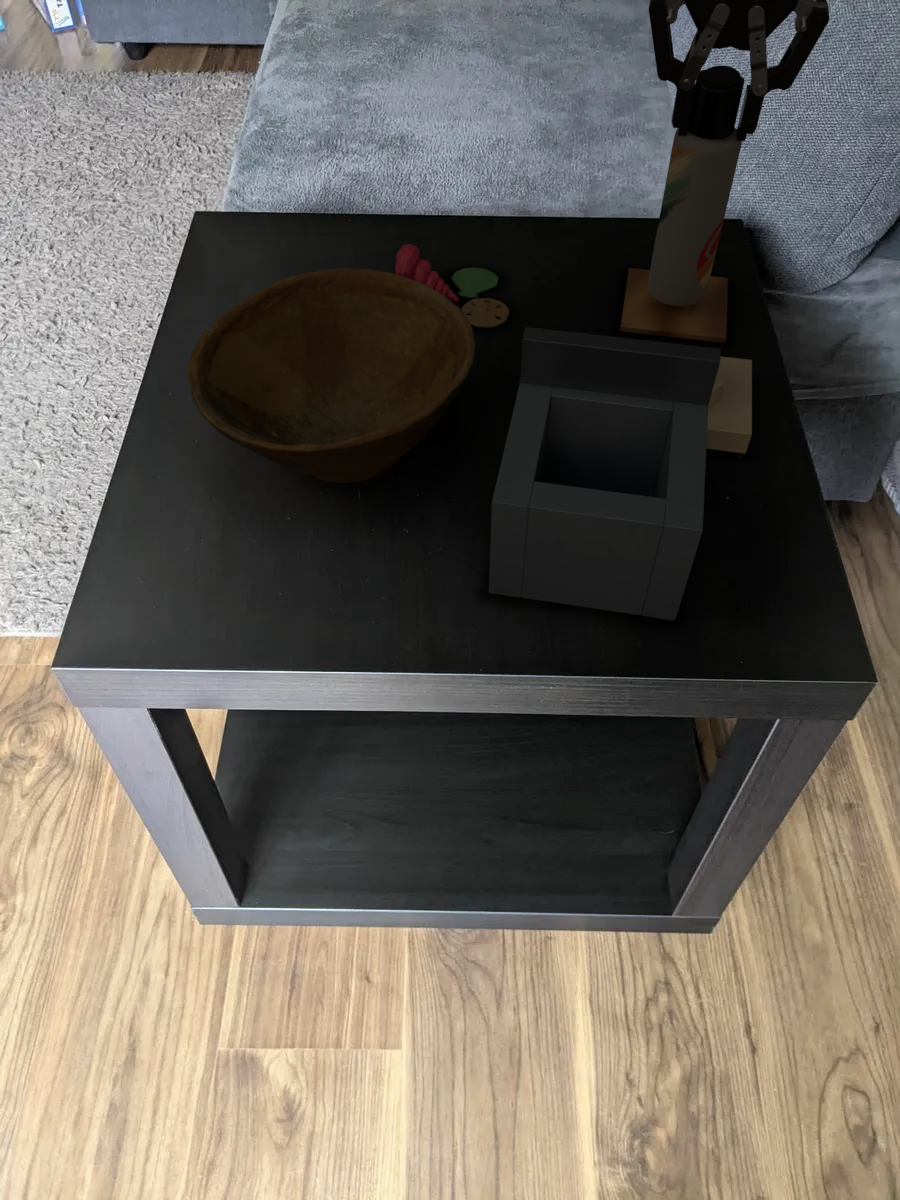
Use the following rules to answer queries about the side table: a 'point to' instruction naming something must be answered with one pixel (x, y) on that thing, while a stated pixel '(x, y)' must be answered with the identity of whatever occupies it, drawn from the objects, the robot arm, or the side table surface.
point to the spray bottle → (697, 190)
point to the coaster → (675, 311)
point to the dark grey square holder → (603, 473)
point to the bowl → (333, 370)
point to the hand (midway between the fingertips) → (711, 133)
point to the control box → (731, 406)
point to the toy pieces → (464, 279)
